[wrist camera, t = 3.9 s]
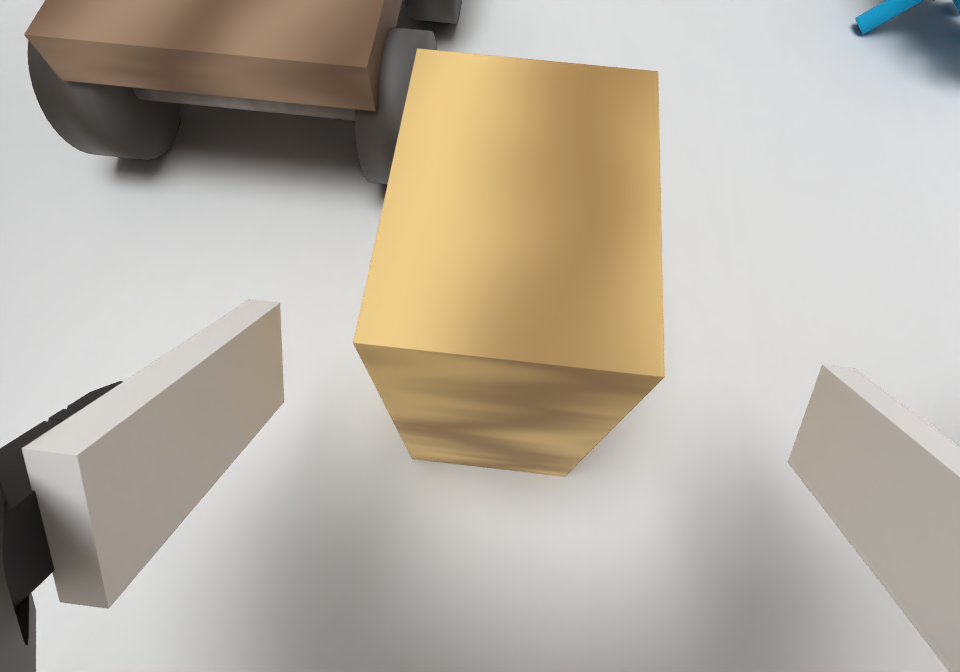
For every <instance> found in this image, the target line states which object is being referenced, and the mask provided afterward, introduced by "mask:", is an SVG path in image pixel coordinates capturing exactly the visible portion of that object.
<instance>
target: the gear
mask: <svg viewBox="0 0 960 672" xmlns="http://www.w3.org/2000/svg"><path fill="white" fill-rule="evenodd" d="M921 1H923V0H885V1H884V2H882V3H880V4H879V5H877V6H875V7H874V8H872V9H870V10H868V11H867V12H865V13H863V14H862V15H860V16H858V17H857V18H855V19H856V22H857V24H858V26H859V29H860V31H861V33H862V35H863V34H865V33H867V32H869V31H870V30H872V29H874V28H876V27H877V26H879V25H881V24H883V23H884V22H886V21H888V20H890V19H891V18H893V17H895V16H897V15H898V14H900V13H902V12H904V11H906V10H907V9H909V8H911V7H913V6H914V5H916V4H918V3H920V2H921ZM929 1H930V2H933V1H935V0H929ZM953 2H954V4H955V6H956V8H957V9H958V11H959V13H960V0H953Z"/></svg>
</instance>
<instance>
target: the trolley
mask: <svg viewBox="0 0 960 672" xmlns="http://www.w3.org/2000/svg"><path fill="white" fill-rule="evenodd" d="M402 1H403V0H45V2H44V3H43V5H42V7H41V8H40V10H39V11H38V13H37V15H36V16H35V18H34V20H33V21H32V23H31V24H30V26H29V28H28V29H27V31H26V33H25V34H24V35H25V36H26V38H27V39H28V65H29V72H30V77H31V81H32V86H33V89H34V92H35V95H36V98H37V100H38V102H39V105H40V107H41V109H42V111H43V113H44V114H45V116H46V118H47V119H48V121H49V122H50V124H51V125H52V127H53V128H54V129H55V130H56V132H57V133H58V134H59V135H60V136H61V137H62V138H63V139H64V140H65V141H66V142H68V143H69V144H70V145H72V146H73V147H75V148H76V149H78V150H80V151H83V152H85V153H89V154H95V155H104V156H114V157H124V158H134V159H144V160H150V159H154V158H157V157H159V156H161V155H162V154H164V153H165V152H166V151H167V150H168V149H169V147H170V146H171V144H172V143H173V141H174V139H175V137H176V134H177V131H178V128H179V124H180V118H181V108H182V104H192V105H202V106H212V107H222V108H232V109H243V110H253V111H263V112H273V113H283V114H293V115H303V116H313V117H323V118H334V119H344V120H354V121H355V136H356V145H357V152H358V158H359V162H360V166H361V169H362V172H363V175H364V177H365V178H366V180H367V181H368V182H370V183H379V184H388V180H389V176H390V171H391V166H392V162H393V157H394V153H395V148H396V143H397V139H398V134H399V130H400V125H401V120H402V116H403V111H404V107H405V102H406V97H407V93H408V88H409V84H410V79H411V75H412V70H413V65H414V61H415V56H416V52H417V49H428V50H437V45H436V40H435V36H434V33H433V32H432V31H427V30H416V29H406V28H396V25H397V21H398V17H399V13H400V9H401V5H402ZM461 2H462V0H405V5H406V9H407V12H408V15H409V17H410V19H412V20H422V21H433V22H443V23H454V24H456V23H457V21H458V18H459V14H460V8H461Z"/></svg>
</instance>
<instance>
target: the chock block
mask: <svg viewBox="0 0 960 672" xmlns="http://www.w3.org/2000/svg"><path fill="white" fill-rule="evenodd" d="M353 344H354V346H355V348H356V349H357V351H358V353H359V355H360V357H361V359H362V361H363V363H364V365H365V367H366V369H367V371H368V373H369V375H370V377H371V379H372V381H373V383H374V385H375V387H376V389H377V391H378V393H379V395H380V397H381V399H382V401H383V402H384V404H385V406H386V408H387V410H388V412H389V414H390V416H391V418H392V420H393V422H394V424H395V426H396V428H397V430H398V432H399V434H400V436H401V438H402V440H403V442H404V444H405V446H406V448H407V450H408V452H409V454H410V455H411V457H412V459H418V460H426V461H435V462H444V463H452V464H461V465H470V466H478V467H487V468H496V469H504V470H513V471H522V472H530V473H539V474H547V475H556V476H566V475H567V474H568V473H569V472H570V471H571V470H572V469H573V468H574V467H575V466H576V465H577V464H578V463H579V462H580V461H581V460H582V459H583V458H584V457H585V456H586V455H587V454H588V453H589V452H590V451H591V450H592V449H593V448H594V447H595V446H596V445H597V444H598V443H599V442H600V441H601V440H602V439H603V438H604V437H605V436H606V435H607V434H608V433H609V432H610V431H611V430H612V429H613V428H614V427H615V426H616V425H617V424H618V423H619V422H620V421H621V420H622V419H623V418H624V417H625V416H626V415H627V414H628V413H629V412H630V411H631V410H632V409H633V408H634V407H635V406H636V405H637V404H638V403H639V402H640V401H641V400H642V399H643V398H644V397H645V396H646V395H647V394H648V393H649V392H650V391H651V390H652V389H653V388H654V387H655V386H656V385H657V384H658V383H659V382H660V381H661V380H662V379H663V378H664V377H665V375H664V328H663V281H662V234H661V187H660V140H659V93H658V71H649V70H638V69H628V68H617V67H607V66H596V65H586V64H575V63H565V62H554V61H544V60H533V59H522V58H512V57H501V56H491V55H480V54H470V53H459V52H449V51H438V50H428V49H417V52H416V56H415V61H414V65H413V70H412V75H411V79H410V84H409V88H408V93H407V97H406V102H405V107H404V111H403V116H402V120H401V125H400V130H399V134H398V139H397V143H396V148H395V153H394V157H393V162H392V166H391V171H390V176H389V180H388V185H387V189H386V194H385V198H384V203H383V208H382V212H381V217H380V221H379V226H378V231H377V235H376V240H375V244H374V249H373V254H372V258H371V263H370V267H369V272H368V277H367V281H366V286H365V290H364V295H363V299H362V304H361V309H360V313H359V318H358V322H357V327H356V332H355V336H354V341H353Z"/></svg>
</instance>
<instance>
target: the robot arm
mask: <svg viewBox="0 0 960 672" xmlns="http://www.w3.org/2000/svg"><path fill="white" fill-rule="evenodd" d="M283 403H284V389H283V365H282V341H281V318H280V303H277V302H268V301H259V300H250V299H249V300H248V301H246V302H245V303H243V304H242V305H240V306H238V307H237V308H235V309H234V310H232V311H231V312H229V313H228V314H226V315H225V316H223V317H222V318H220V319H219V320H217V321H216V322H214V323H212V324H211V325H209V326H208V327H206V328H205V329H203V330H202V331H200V332H199V333H197V334H196V335H194V336H193V337H191V338H190V339H188V340H187V341H185V342H183V343H182V344H180V345H179V346H177V347H176V348H174V349H173V350H171V351H170V352H168V353H167V354H165V355H164V356H162V357H161V358H159V359H157V360H156V361H154V362H153V363H151V364H150V365H148V366H147V367H145V368H144V369H142V370H141V371H139V372H138V373H136V374H135V375H133V376H132V377H130V378H128V379H127V380H125V381H124V382H122V381H119V382H116V383H113V384H111V385H108V386H105V387H103V388H100V389H97V390H94V391H92V392H89V393H88V394H86V395H85V396H83V397H81V398H80V399H78V400H77V401H75V402H74V403H72V404H70V405H69V406H68V408H67V409H62V410H61V411H59V412H58V413H56V414H54V415H53V416H51V417H50V418H49V420H48V422H47V421H43V422H42V423H40V424H39V425H37V426H35V427H34V428H32V429H31V430H29V431H27V432H26V433H24V434H23V435H21V436H19V437H18V438H16V439H15V440H13V441H11V442H10V443H8V444H7V445H5V446H3V447H2V448H0V672H36V608H35V605H34V601H33V597H32V594H31V592H32V591H33V590H34V589H35V588H36V587H37V586H39V585H40V584H41V583H42V582H43V581H44V580H45V579H46V578H47V577H48V576H49V575H50V574H51V573H52V572H53V576H54V580H55V584H56V588H57V592H58V596H59V600H60V602H64V603H71V604H78V605H86V606H93V607H101V608H108V609H109V608H110V606H111V605H112V604H113V603H114V602H115V600H116V599H117V598H118V597H119V596H120V595H121V593H122V592H123V591H124V590H125V589H126V587H127V586H128V585H129V584H130V583H131V582H132V580H133V579H134V578H135V577H136V576H137V575H138V573H139V572H140V571H141V570H142V569H143V567H144V566H145V565H146V564H147V563H148V562H149V560H150V559H151V558H152V557H153V556H154V555H155V553H156V552H157V551H158V550H159V549H160V547H161V546H162V545H163V544H164V543H165V542H166V540H167V539H168V538H169V537H170V536H171V534H172V533H173V532H174V531H175V530H176V529H177V527H178V526H179V525H180V524H181V523H182V522H183V520H184V519H185V518H186V517H187V516H188V514H189V513H190V512H191V511H192V510H193V509H194V507H195V506H196V505H197V504H198V503H199V501H200V500H201V499H202V498H203V497H204V496H205V494H206V493H207V492H208V491H209V490H210V489H211V487H212V486H213V485H214V484H215V483H216V481H217V480H218V479H219V478H220V477H221V476H222V474H223V473H224V472H225V471H226V470H227V469H228V467H229V466H230V465H231V464H232V463H233V461H234V460H235V459H236V458H237V457H238V456H239V454H240V453H241V452H242V451H243V450H244V448H245V447H246V446H247V445H248V444H249V443H250V441H251V440H252V439H253V438H254V437H255V436H256V434H257V433H258V432H259V431H260V430H261V428H262V427H263V426H264V425H265V424H266V423H267V421H268V420H269V419H270V418H271V417H272V416H273V414H274V413H275V412H276V411H277V410H278V408H279V407H280V406H281V405H282V404H283ZM788 464H789V465H790V466H791V467H792V469H793V470H794V471H795V473H796V474H797V475H798V476H799V478H800V479H801V480H802V482H803V483H804V484H805V486H806V487H807V488H808V489H809V491H810V492H811V493H812V495H813V496H814V497H815V498H816V500H817V501H818V502H819V504H820V505H821V506H822V508H823V509H824V510H825V511H826V513H827V514H828V515H829V517H830V518H831V519H832V521H833V522H834V523H835V524H836V526H837V527H838V528H839V530H840V531H841V532H842V533H843V535H844V536H845V537H846V539H847V540H848V541H849V543H850V544H851V545H852V546H853V548H854V549H855V550H856V552H857V553H858V554H859V556H860V557H861V558H862V559H863V561H864V562H865V563H866V565H867V566H868V567H869V568H870V570H871V571H872V572H873V574H874V575H875V576H876V578H877V579H878V580H879V581H880V583H881V584H882V585H883V587H884V588H885V589H886V590H887V592H888V593H889V594H890V596H891V597H892V598H893V600H894V601H895V602H896V603H897V605H898V606H899V607H900V609H901V610H902V611H903V613H904V614H905V615H906V616H907V618H908V619H909V620H910V622H911V623H912V624H913V625H914V627H915V628H916V629H917V631H918V632H919V633H920V635H921V636H922V637H923V638H924V640H925V641H926V642H927V644H928V645H929V646H930V647H931V649H932V650H933V651H934V653H935V654H936V655H937V657H938V658H939V659H940V660H941V662H942V663H943V664H944V666H945V667H946V668H947V670H948V671H949V672H960V447H959V446H958V445H957V444H955V443H954V442H953V441H951V440H950V439H949V438H947V437H946V436H945V435H943V434H942V433H941V432H939V431H938V430H937V429H935V428H934V427H933V426H931V425H930V424H929V423H927V422H926V421H925V420H923V419H922V418H921V417H919V416H918V415H917V414H915V413H914V412H913V411H911V410H910V409H909V408H907V407H906V406H905V405H903V404H902V403H901V402H899V401H898V400H897V399H895V398H894V397H893V396H891V395H890V394H889V393H887V392H886V391H885V390H883V389H882V388H881V387H879V386H878V385H877V384H875V383H874V382H873V381H871V380H870V379H868V378H867V377H866V376H864V375H863V374H862V373H860V372H859V371H858V370H856V369H855V368H847V367H838V366H829V365H822V367H821V370H820V373H819V375H818V378H817V381H816V384H815V387H814V390H813V392H812V395H811V398H810V401H809V404H808V406H807V409H806V412H805V415H804V418H803V420H802V423H801V426H800V429H799V432H798V435H797V437H796V440H795V443H794V446H793V449H792V451H791V454H790V457H789V460H788Z"/></svg>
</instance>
